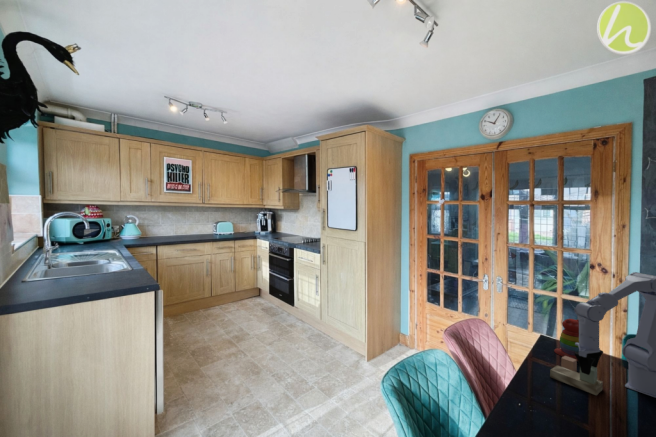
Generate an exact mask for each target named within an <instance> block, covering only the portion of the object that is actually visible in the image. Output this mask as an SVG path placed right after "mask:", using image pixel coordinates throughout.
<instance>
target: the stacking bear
mask: <svg viewBox="0 0 656 437" xmlns="http://www.w3.org/2000/svg"><path fill="white" fill-rule="evenodd" d="M561 324H562V327H563V330H562V331H561V333H560V336H559V345H560V348H559V347H558V348H555V349H554V350H553V351H554V353H555V354H557V356H561V358H562V357H564V356H567V357H570V358H573V359H576V360H577V358H576V356H575V352H579V347H578V346H576V345H575V343H576V342H578V343H579V320H578V318H577V319H574V318H566V319H565V320H563V321H562V322H561ZM577 362H578V360H577Z"/></svg>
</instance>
